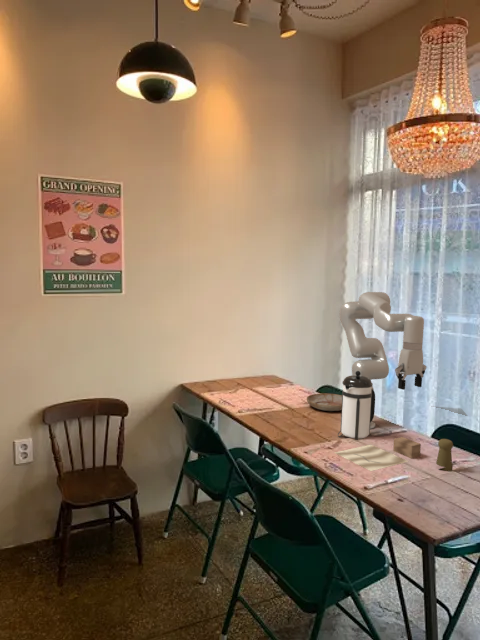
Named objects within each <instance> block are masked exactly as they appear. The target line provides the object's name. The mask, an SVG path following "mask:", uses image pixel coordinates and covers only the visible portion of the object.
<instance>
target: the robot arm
mask: <svg viewBox="0 0 480 640" xmlns="http://www.w3.org/2000/svg"><path fill="white" fill-rule="evenodd" d="M391 307H392V306H391V298H390V296H389V295H388V294H387V293H386V292H382V291H366V292H363V293H362V294H360V296H359V297H358V301H357V300H356V301H347V302H344V303H343V304H342V305H341V306H340V308H339V320H340V323H341V325H342V327H343V330H344V331H345V336H346V340H347V344H348V347H349V351H350V354H351V356H352V357H353V358H356V359H358V360H356V361H354V362H353V364H352V366H351V374H352V375H356V374H355V373H356V371H360V373H361V374H360V376H364V377H367V378H369V379H370V380H371V381H372V380H382V379H386V378H387V377H388V376H389V373H390V366H389V362H388V360H387V355H386V352H385V348H384V345H383V343H382V341H381V340H379V339H378V338H377V337H366V335H365V331H364V328H363V327H362V325H361V324H360V323H359V321H357V320H368V319H369V320H370V319H373V321H374V323H375V325H376V326H378V327H379V328H380V329H381V330H383V331H385V332H389V333H395V332H396V333H397V332H398V333H399V332H401V333H402V332H403V336H402V337H403V338H402V349H401V350H400V354H399V359H398V366H397V367H396V368H395V369H394V371H395V375H396V378H397V379H398V381H397V388H398V389H400V390H403V391H404V390H406V383H407V382H406V379H407V378H406V377H407V376H411V375H412V376H413V375H415V376H414V387H417V388H422V387H423V386H422V385H423V384H422V383H423V377H424V375H425V373H426V369H427V366H426V364H424V352H423V345H424V344H423V342H424V326H425V318H424V317H422V316H419V315H413V314H411V313H391V311H392V308H391ZM366 358H368V359H366ZM352 375H351V376H352ZM372 389H373V390H374V385H373V386H372ZM375 427H376V423H375V422H374V421H373V420H372V421H371V422H370V430H371V429H374V428H375Z"/></svg>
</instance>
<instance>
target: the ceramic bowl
mask: <svg viewBox="0 0 480 640" xmlns="http://www.w3.org/2000/svg"><path fill="white" fill-rule="evenodd" d="M306 402H307V403H308V404H309V405H310V406H311V407H313V408H314V409H317V410H321V411H327V412H339V411H342V394H336V393H326V392H325V393H322V392H321V393H313V394H310V395H307V397H306Z"/></svg>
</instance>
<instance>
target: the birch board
mask: <svg viewBox="0 0 480 640" xmlns="http://www.w3.org/2000/svg"><path fill="white" fill-rule="evenodd" d="M334 454H336V455H337V456H340V457H342V458H344V459H345V460H348V461H350V462H352V463H353V464H355V465H357V466H359V467H360V468H361V467H362V468H363V469H366V470H368V471H369V472H373V471H377V470H381V469H386V468H389V467H393V466H396V465H397V466H398V465H401V464H404V463H409V462H410V461H409V460H407V459H406V458H405V459H404V458H402V457H400V456H397V455H395V454H394V453H391V452H388V451H387V450H384V449H382V448H380V447H378V446H375V445H372V444H368V445H362V446H358V447H353V448H349V449H345V450H339V451H336V452H334Z"/></svg>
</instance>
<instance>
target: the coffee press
mask: <svg viewBox="0 0 480 640" xmlns="http://www.w3.org/2000/svg"><path fill="white" fill-rule="evenodd" d="M355 374H356V375H348V376H345V378H344V379H343V380H342V387H343V388H342V394H341V395H342V410H340V412H341V414H340V430H339V431H338V433H337V437H338V438H341V437H343V436H345V437H346V438H350V439H354V440H355V441H359V439H365V438H367V437H368V436H369V435H370V436H372V434H371V429H370V422H371V421H372V422H373V419H374V417H375V410H376V393H375V391H374V390H373V389H374V388H373V389H372V386H373V387H374V385H373V382H372V380H370V379H369V378H367V377H364V376H360V374H361V373H360V371H356V373H355ZM340 433H341V434H340ZM339 434H340V435H339Z"/></svg>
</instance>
